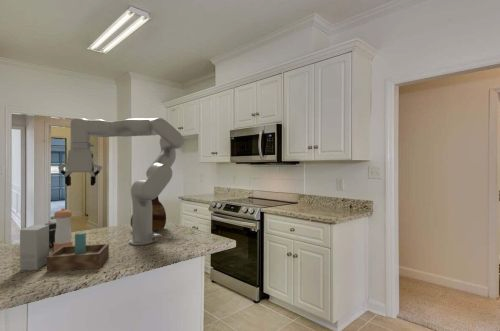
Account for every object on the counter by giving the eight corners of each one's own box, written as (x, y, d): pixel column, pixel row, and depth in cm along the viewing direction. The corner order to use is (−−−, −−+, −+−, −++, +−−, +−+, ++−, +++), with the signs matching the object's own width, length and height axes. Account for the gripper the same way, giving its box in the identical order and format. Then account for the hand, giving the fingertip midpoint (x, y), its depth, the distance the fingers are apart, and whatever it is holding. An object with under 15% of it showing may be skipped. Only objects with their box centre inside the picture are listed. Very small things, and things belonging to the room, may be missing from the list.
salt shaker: (52, 252, 132) (52, 210, 131) (55, 248, 138) (54, 207, 138) (71, 250, 135) (71, 209, 135) (73, 246, 142) (72, 206, 141)
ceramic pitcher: (165, 233, 168) (165, 180, 167) (127, 235, 163) (127, 181, 163) (167, 226, 187) (167, 178, 186) (133, 227, 183) (133, 179, 182)
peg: (87, 261, 120) (87, 232, 120) (84, 264, 117) (83, 234, 117) (76, 262, 120) (76, 232, 119) (73, 265, 116) (73, 235, 116)
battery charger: (44, 249, 137) (44, 224, 137) (42, 247, 139) (42, 223, 139) (61, 245, 142) (61, 222, 142) (59, 244, 145) (58, 221, 145)
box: (108, 256, 127) (108, 243, 127) (99, 268, 113) (99, 253, 113) (62, 259, 123) (62, 246, 123) (46, 271, 109) (46, 256, 109)
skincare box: (33, 263, 118) (33, 224, 118) (50, 262, 119) (50, 224, 119) (18, 270, 110) (18, 229, 110) (37, 270, 111) (37, 229, 110)
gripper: (104, 147, 136) (104, 184, 136) (62, 147, 132) (62, 185, 132) (99, 146, 128) (99, 185, 129) (55, 146, 125) (55, 186, 125)
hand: (80, 185), depth 130 cm, fingers open, 9 cm apart
